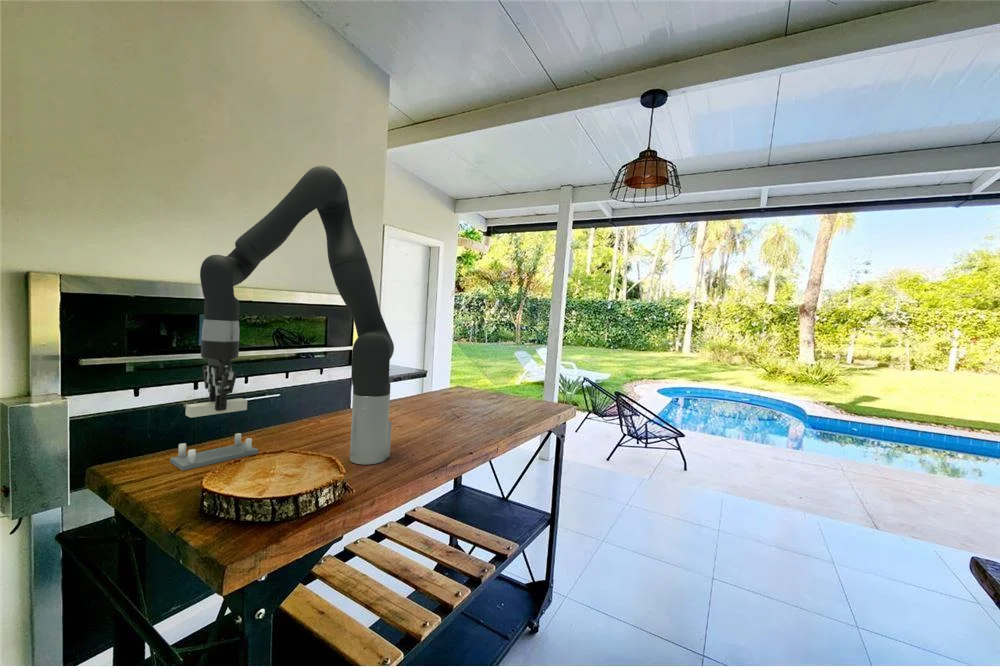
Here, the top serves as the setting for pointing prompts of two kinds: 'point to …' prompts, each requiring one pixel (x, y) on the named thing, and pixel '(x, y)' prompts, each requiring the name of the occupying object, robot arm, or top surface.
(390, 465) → the top surface
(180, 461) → the grey pegged tray
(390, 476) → the top surface
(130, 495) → the top surface
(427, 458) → the top surface
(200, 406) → the clay strip
